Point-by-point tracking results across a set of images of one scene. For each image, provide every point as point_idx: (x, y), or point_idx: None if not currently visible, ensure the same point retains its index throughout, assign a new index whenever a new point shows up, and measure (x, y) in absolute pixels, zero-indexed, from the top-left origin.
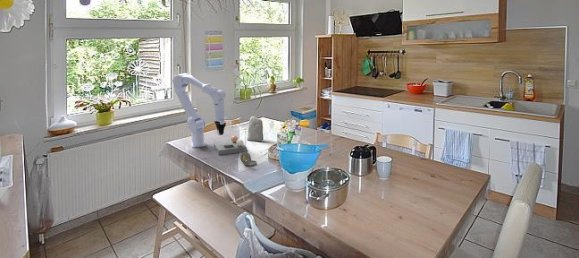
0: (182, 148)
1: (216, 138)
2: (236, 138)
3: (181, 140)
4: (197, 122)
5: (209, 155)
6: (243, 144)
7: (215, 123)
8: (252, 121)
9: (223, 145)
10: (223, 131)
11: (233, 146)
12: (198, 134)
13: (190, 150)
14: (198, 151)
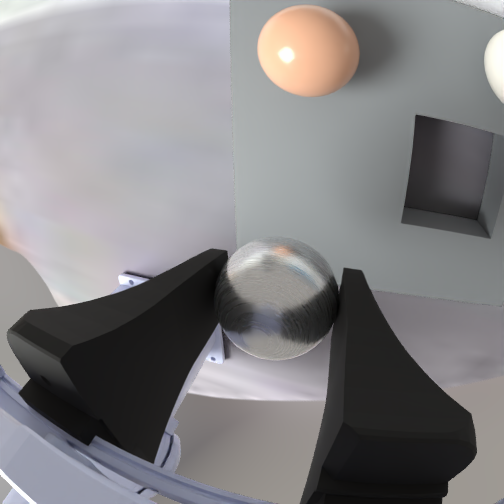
0: (217, 390)
1: (57, 173)
2: (350, 29)
3: None
4: (116, 475)
5: (453, 336)
6: (461, 9)
7: (159, 442)
8: None
9: (393, 218)
10: (374, 301)
11: (452, 121)
12: (177, 399)
13: (274, 382)
14: (321, 362)
